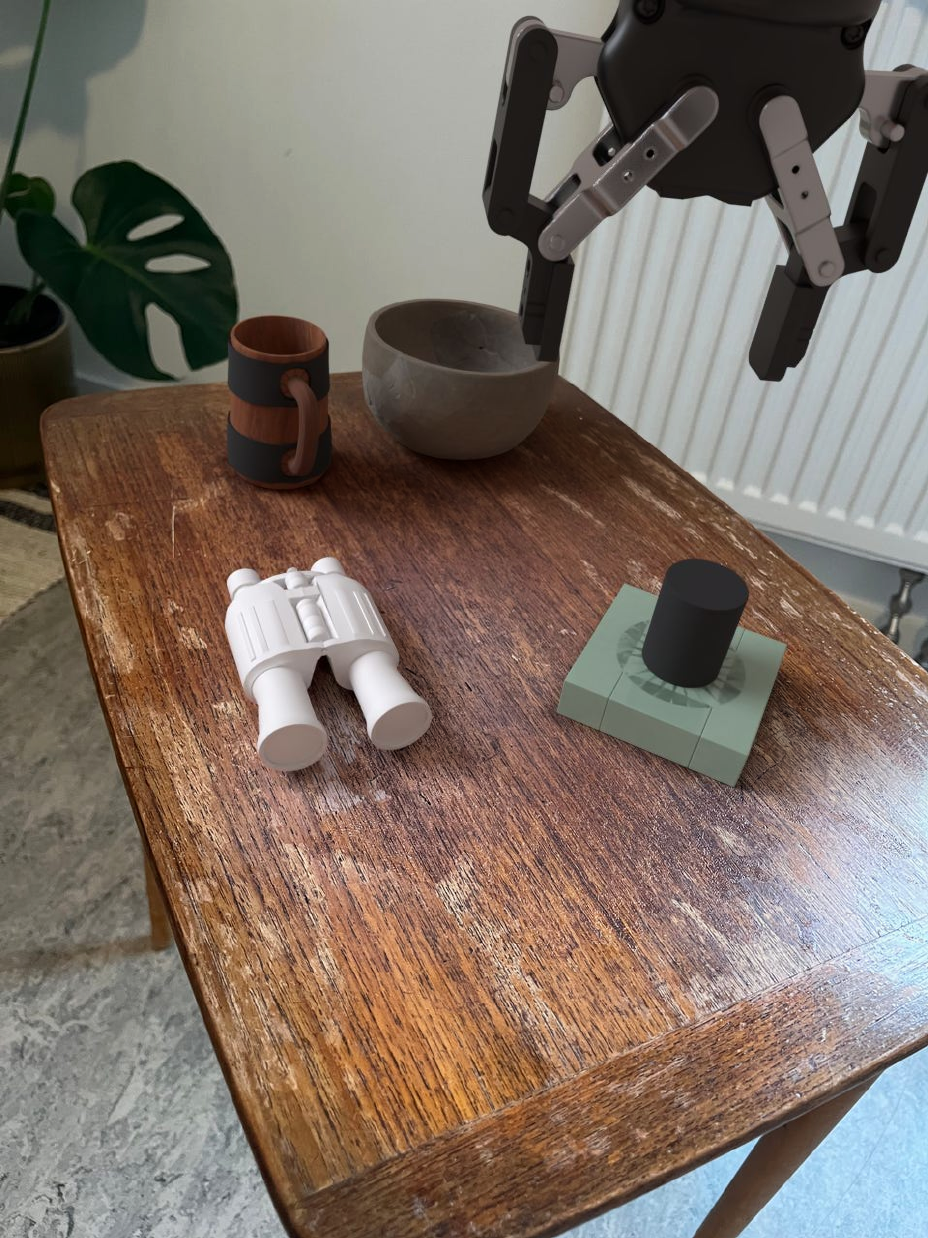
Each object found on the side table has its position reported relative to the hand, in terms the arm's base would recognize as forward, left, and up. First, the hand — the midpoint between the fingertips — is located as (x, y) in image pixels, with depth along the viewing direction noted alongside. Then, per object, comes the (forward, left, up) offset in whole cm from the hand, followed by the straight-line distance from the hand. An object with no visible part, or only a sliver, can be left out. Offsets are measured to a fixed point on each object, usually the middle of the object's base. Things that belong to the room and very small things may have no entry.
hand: (655, 363), depth 36 cm
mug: (+33, -24, -29) cm, 50 cm away
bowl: (+25, -39, -29) cm, 54 cm away
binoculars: (+18, -5, -29) cm, 34 cm away
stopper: (-3, -16, -29) cm, 33 cm away
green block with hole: (-3, -16, -29) cm, 33 cm away
